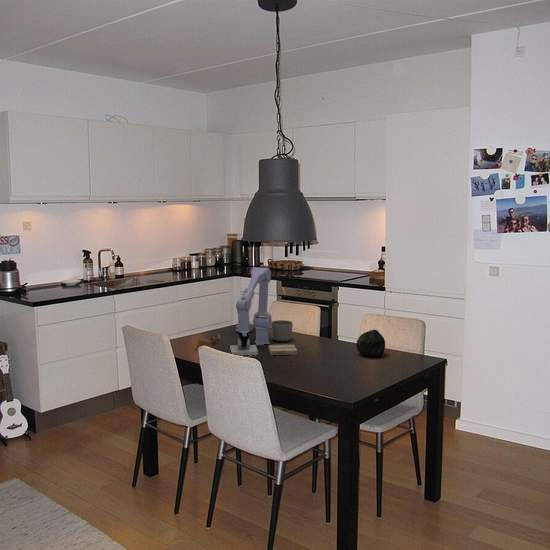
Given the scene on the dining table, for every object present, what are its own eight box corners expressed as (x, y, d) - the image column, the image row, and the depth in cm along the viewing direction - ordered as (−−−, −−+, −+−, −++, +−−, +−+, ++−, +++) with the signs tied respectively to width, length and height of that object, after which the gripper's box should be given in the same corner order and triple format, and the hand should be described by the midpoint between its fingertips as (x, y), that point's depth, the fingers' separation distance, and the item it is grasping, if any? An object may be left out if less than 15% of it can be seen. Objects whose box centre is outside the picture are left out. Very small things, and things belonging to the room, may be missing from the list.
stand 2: (268, 349, 334) (268, 344, 333) (293, 348, 335) (293, 344, 335) (271, 356, 320) (271, 351, 320) (297, 355, 322) (297, 350, 321)
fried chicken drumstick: (221, 349, 334) (221, 333, 333) (221, 351, 329) (221, 335, 328) (194, 350, 332) (194, 334, 331) (194, 352, 327) (194, 336, 326)
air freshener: (241, 334, 369) (241, 318, 368) (233, 332, 375) (233, 316, 374) (255, 331, 376) (255, 316, 375) (247, 329, 382) (247, 313, 381)
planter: (266, 340, 354) (266, 322, 353) (282, 337, 362) (282, 319, 361) (281, 344, 345) (281, 325, 343) (296, 340, 353) (296, 322, 352)
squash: (353, 340, 331) (358, 324, 320) (380, 341, 332) (386, 325, 321) (356, 362, 322) (361, 347, 310) (384, 363, 323) (390, 347, 311)
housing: (237, 347, 328) (237, 338, 327) (249, 347, 328) (248, 338, 328) (238, 349, 323) (238, 340, 323) (249, 349, 324) (249, 340, 323)
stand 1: (230, 350, 332) (230, 345, 332) (255, 349, 334) (255, 344, 334) (231, 356, 318) (231, 352, 318) (257, 356, 320) (257, 351, 320)
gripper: (235, 318, 330) (235, 343, 332) (236, 324, 316) (237, 350, 318) (248, 318, 331) (248, 342, 333) (250, 324, 317) (250, 349, 319)
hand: (243, 346), depth 326 cm, fingers closed on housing, 4 cm apart
